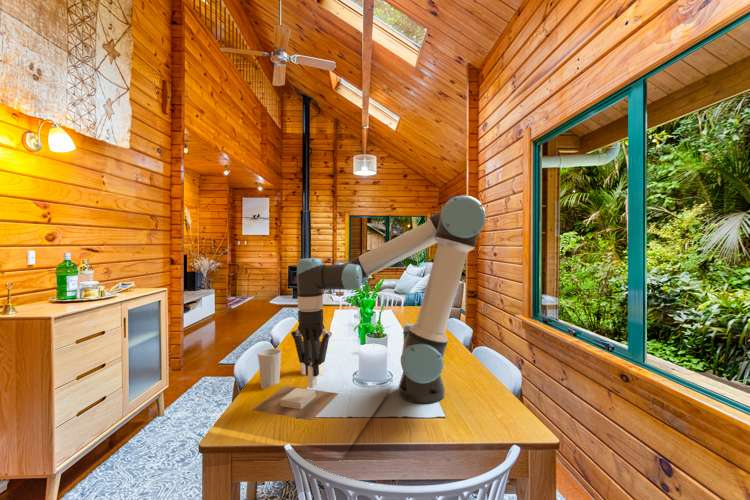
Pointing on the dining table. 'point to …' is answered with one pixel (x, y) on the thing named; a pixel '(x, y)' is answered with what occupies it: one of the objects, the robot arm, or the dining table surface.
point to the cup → (269, 367)
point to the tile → (298, 398)
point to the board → (305, 413)
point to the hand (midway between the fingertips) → (312, 386)
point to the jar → (303, 369)
